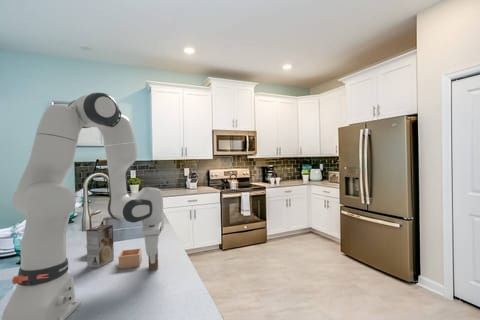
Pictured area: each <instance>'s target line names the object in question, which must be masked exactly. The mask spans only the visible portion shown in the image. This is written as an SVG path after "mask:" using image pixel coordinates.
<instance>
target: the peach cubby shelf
mask: <svg viewBox="0 0 480 320" xmlns="http://www.w3.org/2000/svg"><path fill="white" fill-rule="evenodd" d="M142 256H143V253H142V248H132V249H122V250H121V252H120V253H119V255H118V269H130V268H136V267H140V266H141V263H142V259H143V258H142Z"/></svg>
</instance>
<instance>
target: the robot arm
mask: <svg viewBox="0 0 480 320" xmlns="http://www.w3.org/2000/svg"><path fill="white" fill-rule="evenodd" d="M37 125H38V126H37V128H36V132H35V136H34V140H33V144H32V148H31V151H30V156H29V159H28V162H27V165H26V167H25V169H24V171H23V173H22V176H21V178H20V180H19V182H18V184H17V185H18V186H17V188H16V189H15V190H14V192H13V194H12V200H11V201H12V204H13V206H14V208H15V210H17V211H18V213H20V214H23V215H24V216H25V226H24V229H23V235H22V237H21V239H20V247H19V248H20V267H19V269H18V273H17V275H14V276H13V277H12V280H11V281H12V282H11V283H12V285H16V284H17V285H16V287H15V288H14V290H13V291H12V292H13V293H12V294H11V296H10V297H9V300H8V302H7V304H6V305H5V308H4V310H3V312H2V315H1V320H66V319H67V318H68V317H69V316H70V315H71V314H72V313H73V312H74V311H75V310H76V309H77V308H78V307H79V306H80V305H81V299H79V298H76V292H75V291H76V289H75V280H74V278H73V276H71V275H70V273H69V259H68V257H67V230H68V225H69V220H70V218H71V213H72V212H73V211H74V209H75V207H76V202H77V198H76V195H75V193H74V192H73V191H72V190H71V189H70V188H69V187H67V186H66V185H64V184H63V182H64V180H65V178H66V176H67V174H68V172H69V170H70V169H71V168H72V167H73V164H74V160H75V154H76V150H77V147H78V146H77V145H78V141H79V136H80V132H81V131H82V129H88V128H97V129H98V130H99V131H100V134H101V136H102V137H103V145H104V151H105V156H106V162H107V164H106V165H107V175H108V176H107V177H108V187H109V200H108V203H107V213H108V215H109V217H110V218H112V219H114V220H116V221H122V222H123V221H124V222H127V223H130V224H131V223H132V224H133V223H137V222H140V221H141V222H140V225H141V231H142V237H144V244H145V246H144V247H145V251H146V256H149V255H150V263H151V264H152V263H155V255H156V254H157V248H158V246H159V241H160V239H159V238H160V235H161V233H162V231H163V230H164V227H165V226H164V223H165V222H164V214H163V210H164V197H163V193H162V190H161V189H160V188H158V187H149V186H145V187H142V189H141V190H140V191H138V192H137V193H135V194H133V195H132V196H130V195H129V194H128V189H127V179H126V173H127V171H128V169H129V168H130V167H131V166H132V165H133V164H134V163H135V162H136V160H137V158H138V147H137V141H136V136H135V131H134V129H133V125H132V123H131V121H130V119H129V117H127V116H125V115H123V114H122V111H121V110H120V109H119V105H118V102H116V100H115V98H114V97H112V96H111V95H110V94H108V93H104V92H92V93H90V94H86V95H82V96H79V98H77V99H74V100H73V101H71V102H70V103H69V104H67V105H65V104H51V105H49V106H48V107H46V108H45V110H44V112H43V114H42V115H41V118H40V121H39V123H38V124H37ZM158 249H159V248H158Z"/></svg>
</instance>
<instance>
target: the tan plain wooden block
mask: <svg viewBox="0 0 480 320" xmlns="http://www.w3.org/2000/svg"><path fill="white" fill-rule="evenodd" d="M147 256H148V255H147ZM155 270H156V271H157V270H159V248H157V254H156V255H155V263H152V264H151V263H150V255H149V256H148V271H155Z"/></svg>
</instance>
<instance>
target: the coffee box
mask: <svg viewBox="0 0 480 320" xmlns="http://www.w3.org/2000/svg"><path fill="white" fill-rule="evenodd" d="M85 232H86V236H85V237H86V244H87V248H86V260H87V262H86V266H87V267H88V268H101V267H103V266H105V265H107V264H109V263H110V262H112V261H114V260H115V255H114V253H115V252H114V250H115V249H114V248H115V247H114V225H113V224H100V225H97V226H93V227H91V228H88V229H86V231H85Z"/></svg>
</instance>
